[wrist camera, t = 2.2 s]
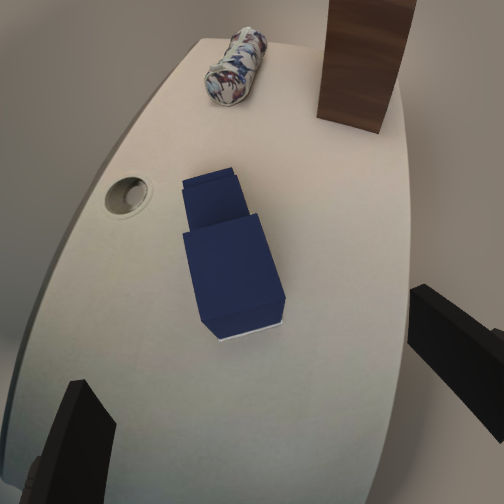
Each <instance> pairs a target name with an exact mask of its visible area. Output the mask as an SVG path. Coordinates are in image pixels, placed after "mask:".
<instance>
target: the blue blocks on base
mask: <svg viewBox="0 0 504 504" xmlns="http://www.w3.org/2000/svg"><path fill="white" fill-rule="evenodd" d="M182 182H183V187H184V189H183V190H182V193H183V199H184V204H185V209H186V214H187V219H188V224H189V229H190V232H186V233H183V239H184V244H185V249H186V254H187V259H188V264H189V269H190V273H191V278H192V283H193V287H194V292H195V296H196V301H197V305H198V309H199V314H200V318H201V321H202V322H203V323H204V325H205V326H206V327H207V328H208V329H209V330H210V331H211V332H212V333H213V334H214V335H215V336H216V337H217V339H218V341H219V342H222V341H225V340H229V339H233V338H237V337H240V336H244V335H248V334H251V333H255V332H258V331H262V330H265V329H269V328H272V327H275V326H279V325H282V314H283V309H284V304H285V299H286V297H285V294H284V291H283V288H282V285H281V282H280V279H279V276H278V273H277V270H276V267H275V264H274V261H273V258H272V255H271V252H270V249H269V247H268V244H267V241H266V238H265V235H264V232H263V229H262V226H261V223H260V220H259V217H258V214H257V213H255V214H252V215H250V214H249V211H248V208H247V205H246V202H245V198H244V195H243V192H242V189H241V186H240V183H239V180H238V177H237V175H234V172H233V169H232V167H231V168H227V169H223V170H219V171H216V172H212V173H208V174H204V175H201V176H197V177H194V178H190V179H187V180H183V181H182Z"/></svg>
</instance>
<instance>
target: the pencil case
mask: <svg viewBox="0 0 504 504" xmlns="http://www.w3.org/2000/svg"><path fill="white" fill-rule="evenodd" d="M266 49H267V40H266V38H265V37H264V35H263V34H262V33H260V32H259V31H256V30H252V29H251V27H246V28H242V30H241V31H239V32H236V33H235V34H234V35H233V36H232V38H231V41H230V45H229V48H228V49H227V50H226V52H225V54H224V57H223V59H221V60H220V61H219V63H218V64H216V65H213V66H210V71H209V72H208V73H207V75H206V76H205V87H206V90H207V92H208V95H209V96H210V97H211V99H212V100H213V101H215V102H216V103H218V104H221V105H226V106H232V105H234V104H236V103H238V102H240V101H242V100H243V99H244V98H245V97H246V96H247V94H248V92H249V89H250V86H251V84H252V82H253V78H254V76H255V73H256V71H257V69H258V67H259V64H260V62H261V60H262V58H263V56H264V54H265V51H266Z"/></svg>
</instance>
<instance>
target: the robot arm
mask: <svg viewBox="0 0 504 504" xmlns="http://www.w3.org/2000/svg"><path fill="white" fill-rule="evenodd" d="M407 343H408V344H409V345H410V346H411V347H412V348H413V349H414V351H416V353H417V354H418V355H419V356H420V357H421V358H422V359H423V360H424V361H425V362H426V363H427V364H428V365H429V366H430V367H431V368H432V369H433V370H434V371H435V372H436V373H437V375H438V376H439V377H440V378H441V379H442V380H443V381H444V382H445V383H446V384H447V385H448V386H449V387H450V388H451V389H452V391H454V393H455V394H456V395H457V396H458V397H459V398H460V399H461V400H462V401H463V403H465V405H466V406H467V407H468V408H469V409H470V410H471V411H472V412H473V414H474V415H475V416H476V417H477V418H478V419H479V420H480V421H481V423H482V424H483V425H484V426H485V427H486V428H487V429H488V430H489V432H490V433H491V434H492V435H493V436H494V437H495V439H496V440H497V441H498V442H499V443H502V442H503V441H504V331H501V330H499V329H496V328H494V329H493V330H491V331H490V330H488V329H487V328H486V327H484V326H483V325H482V324H480V323H479V322H478V321H476V320H475V319H474V318H472V317H471V316H469V315H468V314H467V313H466V312H464V311H463V310H461V309H460V308H459V307H457V306H456V305H454V304H453V303H452V302H450V301H449V300H447V299H446V298H445V297H443V296H442V295H440V294H439V293H437V292H436V291H435V290H433V289H432V288H430V287H429V286H427V285H426V284H422V285H420V286H417V287H415V288H412V289H410V309H409V328H408V342H407ZM116 425H117V424H116V423H115V421H114V420H113V419H112V417H111V416H110V415H109V413H108V412H107V411H106V409H105V408H104V407H103V405H102V404H101V402H100V401H99V400H98V398H97V397H96V395H95V394H94V392H93V391H92V389H91V388H90V386H89V385H88V383H87V382H86V380H85V379H83V380H76V381H70V383H69V385H68V387H67V390H66V392H65V395H64V397H63V399H62V402H61V404H60V407H59V409H58V412H57V414H56V417H55V419H54V422H53V425H52V427H51V430H50V433H49V435H48V438H47V441H46V444H45V447H44V450H43V452H42V455H41V456H38V457H37V458H36V459H35V461H34V462H33V463H32V465H31V467H30V470H29V473H28V476H27V478H28V479H26V482H25V488H24V489H23V492H22V496H21V499H20V503H19V504H103V503H104V495H105V488H106V481H107V475H108V468H109V462H110V456H111V451H112V445H113V440H114V435H115V430H116Z"/></svg>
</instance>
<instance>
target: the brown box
mask: <svg viewBox="0 0 504 504" xmlns="http://www.w3.org/2000/svg"><path fill="white" fill-rule="evenodd" d="M416 2H417V0H329V10H328V22H327V33H326V42H325V52H324V61H323V70H322V79H321V87H320V95H319V103H318V111H317V118H320V119H324V120H329V121H333V122H337V123H341V124H344V125H348V126H352V127H356V128H359V129H363V130H366V131H370V132H373V133H376V134H379V131H380V128H381V125H382V122H383V119H384V116H385V113H386V110H387V107H388V104H389V101H390V98H391V95H392V91H393V88H394V85H395V81H396V78H397V75H398V71H399V68H400V64H401V61H402V57H403V54H404V50H405V46H406V42H407V38H408V34H409V31H410V27H411V23H412V18H413V15H414V10H415V6H416Z"/></svg>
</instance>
